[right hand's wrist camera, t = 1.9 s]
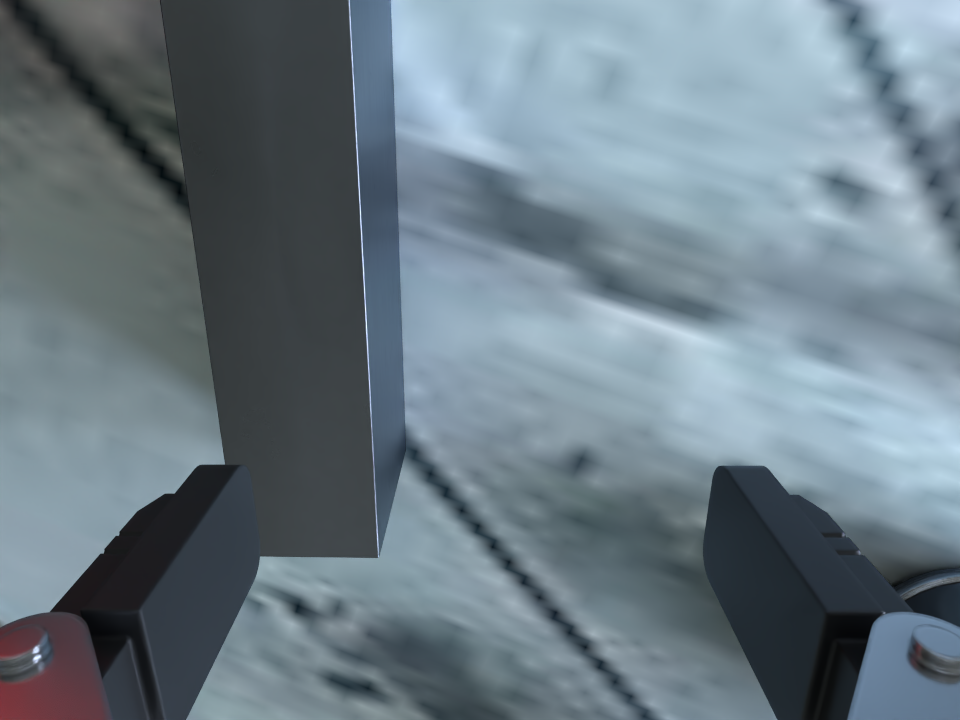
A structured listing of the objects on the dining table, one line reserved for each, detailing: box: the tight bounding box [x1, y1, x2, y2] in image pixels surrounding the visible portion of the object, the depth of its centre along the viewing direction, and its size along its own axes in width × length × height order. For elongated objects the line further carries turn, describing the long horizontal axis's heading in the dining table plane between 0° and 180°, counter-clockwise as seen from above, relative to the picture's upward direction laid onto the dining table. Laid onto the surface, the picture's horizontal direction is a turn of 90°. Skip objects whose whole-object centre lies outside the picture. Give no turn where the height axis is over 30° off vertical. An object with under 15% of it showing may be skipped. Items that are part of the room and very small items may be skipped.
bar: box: [160, 0, 406, 558], centre depth 24 cm, size 25×5×9 cm, turn 0°
